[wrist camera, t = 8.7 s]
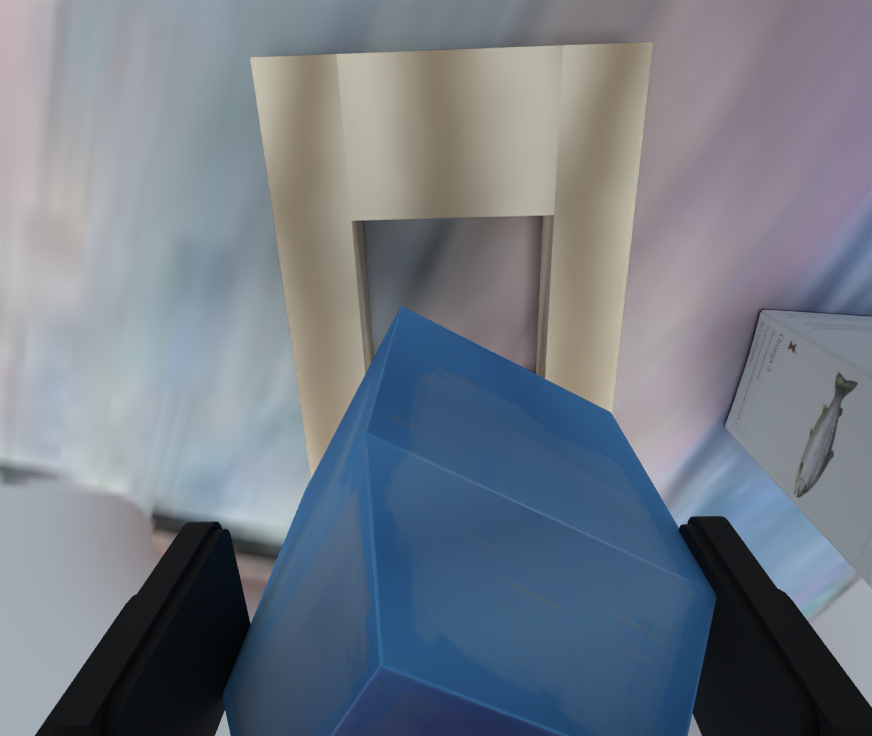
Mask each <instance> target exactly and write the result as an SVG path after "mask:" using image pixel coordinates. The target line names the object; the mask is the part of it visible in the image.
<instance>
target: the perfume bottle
mask: <svg viewBox="0 0 872 736" xmlns="http://www.w3.org/2000/svg"><path fill="white" fill-rule="evenodd" d="M715 602H716V595H715V592H714V591H713V589H712V587H711V585H710V584H709V582H708V580H707V579H706V577H705V575H704V573H703V572H702V570H701V568H700V567H699V565H698V563H697V561H696V560H695V558H694V556H693V555H692V553H691V551H690V549H689V548H688V546H687V544H686V543H685V541H684V539H683V537H682V536H681V534H680V532H679V528H678V526H677V524H676V523H675V521H674V519H673V517H672V516H671V514H670V512H669V511H668V509H667V507H666V505H665V504H664V502H663V500H662V499H661V497H660V495H659V494H658V492H657V490H656V488H655V487H654V485H653V483H652V482H651V480H650V478H649V476H648V475H647V473H646V471H645V470H644V468H643V466H642V465H641V463H640V461H639V459H638V458H637V456H636V454H635V453H634V451H633V449H632V447H631V446H630V444H629V442H628V441H627V439H626V437H625V436H624V434H623V432H622V430H621V429H620V427H619V425H618V424H617V422H616V420H615V418H614V417H613V415H612V413H611V412H610V411H608V410H606V409H604V408H602V407H600V406H598V405H596V404H594V403H592V402H590V401H588V400H586V399H584V398H582V397H580V396H578V395H576V394H574V393H572V392H570V391H568V390H566V389H564V388H562V387H560V386H558V385H556V384H554V383H552V382H550V381H548V380H546V379H544V378H542V377H541V376H539V375H537V374H535V373H533V372H531V371H529V370H527V369H525V368H523V367H521V366H519V365H517V364H515V363H513V362H511V361H509V360H507V359H505V358H503V357H501V356H499V355H497V354H495V353H493V352H491V351H489V350H487V349H485V348H483V347H481V346H479V345H477V344H475V343H473V342H471V341H469V340H468V339H466V338H464V337H462V336H460V335H458V334H456V333H454V332H452V331H450V330H448V329H446V328H444V327H442V326H440V325H438V324H436V323H434V322H432V321H430V320H428V319H426V318H424V317H422V316H420V315H418V314H416V313H414V312H412V311H410V310H408V309H406V308H404V307H402V306H400V308H399V310H398V312H397V314H396V316H395V318H394V320H393V322H392V324H391V326H390V328H389V330H388V332H387V333H386V335H385V337H384V339H383V341H382V343H381V345H380V347H379V349H378V351H377V353H376V355H375V357H374V359H373V360H372V362H371V364H370V366H369V368H368V370H367V372H366V374H365V376H364V378H363V380H362V382H361V384H360V386H359V388H358V389H357V391H356V393H355V395H354V397H353V399H352V401H351V403H350V405H349V407H348V409H347V411H346V413H345V415H344V416H343V418H342V420H341V422H340V424H339V426H338V428H337V430H336V432H335V434H334V436H333V438H332V440H331V442H330V443H329V445H328V447H327V449H326V451H325V453H324V455H323V457H322V459H321V461H320V463H319V465H318V467H317V469H316V471H315V472H314V474H313V476H312V478H311V480H310V482H309V484H308V486H307V488H306V490H305V492H304V495H303V497H302V500H301V502H300V505H299V507H298V509H297V512H296V514H295V517H294V519H293V522H292V524H291V527H290V529H289V531H288V534H287V536H286V539H285V541H284V544H283V546H282V549H281V551H280V553H279V556H278V558H277V561H276V563H275V566H274V568H273V571H272V573H271V576H270V578H269V580H268V583H267V585H266V588H265V590H264V593H263V595H262V598H261V600H260V603H259V605H258V607H257V610H256V613H255V615H254V617H253V620H252V622H251V625H250V628H249V630H248V633H247V635H246V638H245V640H244V642H243V645H242V647H241V650H240V652H239V655H238V657H237V660H236V662H235V665H234V667H233V669H232V672H231V674H230V677H229V679H228V682H227V684H226V687H225V689H224V692H223V701H224V706H225V711H226V715H227V720H228V725H229V729H230V734H231V736H688V731H689V726H690V722H691V717H692V712H693V708H694V703H695V698H696V693H697V688H698V684H699V679H700V674H701V669H702V665H703V660H704V655H705V650H706V645H707V641H708V636H709V631H710V626H711V622H712V617H713V612H714V607H715Z"/></svg>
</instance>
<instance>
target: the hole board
mask: <svg viewBox="0 0 872 736" xmlns="http://www.w3.org/2000/svg"><path fill="white" fill-rule="evenodd" d="M652 49H653V42H634V43H608V44H582V45H557V46H531V47H505V48H479V49H453V50H428V51H402V52H376V53H350V54H324V55H299V56H273V57H250V60H251V67H252V74H253V81H254V88H255V95H256V101H257V108H258V115H259V122H260V129H261V136H262V143H263V150H264V157H265V163H266V170H267V177H268V184H269V191H270V198H271V205H272V212H273V219H274V226H275V232H276V239H277V246H278V253H279V260H280V267H281V274H282V281H283V288H284V294H285V301H286V308H287V315H288V322H289V329H290V336H291V343H292V350H293V357H294V363H295V370H296V377H297V384H298V391H299V398H300V405H301V412H302V419H303V425H304V432H305V439H306V446H307V453H308V460H309V467H310V474H311V478H312V476H313V474H314V472H315V471H316V469H317V467H318V465H319V463H320V461H321V459H322V457H323V455H324V453H325V451H326V449H327V447H328V445H329V443H330V442H331V440H332V438H333V436H334V434H335V432H336V430H337V428H338V426H339V424H340V422H341V420H342V418H343V416H344V415H345V413H346V411H347V409H348V407H349V405H350V403H351V401H352V399H353V397H354V395H355V393H356V391H357V389H358V388H359V386H360V384H361V382H362V380H363V378H364V376H365V374H366V372H367V370H368V368H369V366H370V364H371V362H372V360H373V359H374V356H373V344H372V332H371V320H370V308H369V296H368V283H367V271H366V259H365V247H364V235H363V222H362V220H396V219H432V218H468V217H504V216H541V215H543V227H542V248H541V270H540V292H539V313H538V335H537V356H536V374H537V375H539V376H541V377H542V378H544V379H546V380H548V381H550V382H552V383H554V384H556V385H558V386H560V387H562V388H564V389H566V390H568V391H570V392H572V393H574V394H576V395H578V396H580V397H582V398H584V399H586V400H588V401H590V402H592V403H594V404H596V405H598V406H600V407H602V408H604V409H606V410H608V411H610V412H611V413H612V410H613V401H614V392H615V383H616V374H617V365H618V356H619V347H620V338H621V329H622V320H623V311H624V302H625V293H626V283H627V274H628V265H629V256H630V247H631V238H632V229H633V220H634V211H635V202H636V193H637V184H638V175H639V166H640V157H641V148H642V139H643V130H644V121H645V112H646V103H647V94H648V85H649V76H650V67H651V58H652Z"/></svg>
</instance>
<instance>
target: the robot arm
mask: <svg viewBox="0 0 872 736" xmlns="http://www.w3.org/2000/svg"><path fill="white" fill-rule="evenodd" d="M679 532H680V534H681V536H682V537H683V539H684V541H685V543H686V544H687V546H688V548H689V549H690V551H691V553H692V555H693V556H694V558H695V560H696V561H697V563H698V565H699V567H700V568H701V570H702V572H703V573H704V575H705V577H706V579H707V580H708V582H709V584H710V585H711V587H712V589H713V591H714V592H715V595H716V602H715V607H714V612H713V617H712V622H711V626H710V631H709V636H708V641H707V645H706V650H705V655H704V660H703V665H702V669H701V674H700V679H699V684H698V688H697V693H696V698H695V703H694V708H693V712H692V713H693V715H694V718H695V720H696V722H697V724H698V727H699V729H700V732H701V734H702V736H872V707H871V706H870V705H869V703H868V702H867V701H866V699H865V698H864V697H863V695H862V694H861V693H860V691H859V690H858V689H857V687H856V686H855V684H854V683H853V682H852V680H851V679H850V678H849V676H848V675H847V674H846V672H845V671H844V670H843V668H842V667H841V666H840V664H839V663H838V662H837V660H836V659H835V657H834V656H833V655H832V653H831V652H830V651H829V649H828V648H827V647H826V645H825V644H824V643H823V641H822V640H821V639H820V637H819V636H818V635H817V633H816V632H815V631H814V629H813V628H812V626H811V625H810V624H809V622H808V621H807V620H806V618H805V617H804V616H803V614H802V613H801V612H800V610H799V609H798V608H797V606H796V605H795V603H794V602H793V601H792V600H791V598H790V597H789V596H788V595H787V594H786V593H785V592H783V591H781V590H780V589H777V587H776V586H775V585H774V583H773V582H772V580H771V579H770V578H769V576H768V575H767V574H766V572H765V571H764V569H763V568H762V567H761V565H760V564H759V563H758V561H757V560H756V558H755V557H754V556H753V554H752V553H751V552H750V550H749V549H748V547H747V546H746V545H745V543H744V542H743V541H742V539H741V538H740V536H739V535H738V534H737V532H736V531H735V530H734V528H733V527H732V525H731V524H730V523H729V521H728V520H727V519H726V518H725V517H722V516H696V517H691V518H690V519H689V520H688V524H683V525H681V526H680V528H679ZM250 625H251V624H250V620H249V616H248V611H247V606H246V602H245V597H244V593H243V589H242V584H241V580H240V575H239V571H238V566H237V562H236V557H235V553H234V548H233V544H232V539H231V535H230V532H229V531H228V530H227V529H222V527H221V525H220V524H219V522H188V523H186V524H185V525H184V526H183V527H182V529H181V530H180V532H179V533H178V535H177V536H176V538H175V539H174V541H173V542H172V543H171V545H170V546H169V548H168V549H167V551H166V552H165V554H164V555H163V557H162V558H161V560H160V561H159V563H158V564H157V566H156V567H155V568H154V570H153V571H152V573H151V574H150V576H149V577H148V579H147V580H146V582H145V583H144V585H143V586H142V587H141V589H140V590H139V592H138V593H137V594H136V595H134V596H133V597H132V598H131V599H130V600H129V601H128V603H126V605H125V606H124V608H123V609H122V610H121V612H120V614H119V615H118V616H117V618H116V619H115V620H114V622H113V623H112V625H111V626H110V628H109V629H108V631H107V632H106V633H105V635H104V636H103V638H102V639H101V641H100V642H99V644H98V645H97V647H96V648H95V650H94V651H93V652H92V654H91V655H90V657H89V658H88V660H87V661H86V663H85V664H84V665H83V667H82V668H81V670H80V671H79V673H78V674H77V675H76V677H75V679H74V680H73V681H72V683H71V684H70V686H69V687H68V689H67V690H66V692H65V693H64V694H63V696H62V697H61V699H60V700H59V701H58V703H57V704H56V706H55V707H54V709H53V710H52V712H51V713H50V715H49V716H48V717H47V719H46V720H45V722H44V723H43V725H42V726H41V728H40V729H39V730H38V732H37V733H36V735H35V736H215V734H216V731H217V729H218V726H219V723H220V721H221V718H222V716H223V713H224V711H225V706H224V701H223V692H224V689H225V687H226V684H227V682H228V679H229V677H230V674H231V672H232V669H233V667H234V665H235V662H236V660H237V657H238V655H239V652H240V650H241V647H242V645H243V642H244V640H245V638H246V635H247V633H248V630H249V628H250Z"/></svg>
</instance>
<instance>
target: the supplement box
mask: <svg viewBox="0 0 872 736" xmlns="http://www.w3.org/2000/svg"><path fill="white" fill-rule="evenodd" d="M725 428H726V429H727V430H728V432H729V433H730V434H731V435H732V436H733V437H734V438H735V439H736V440H737V441H738V443H739V444H740V445H741V446H742V447H743V448H744V449H745V450H746V451H747V453H748V454H749V455H750V456H751V457H752V458H753V459H754V460H755V461H756V462H757V463H758V464H759V466H760V467H761V468H762V469H763V470H764V471H765V472H766V473H767V474H768V475H769V476H770V477H771V478H772V480H773V481H774V482H775V483H776V484H777V485H778V486H779V487H780V488H781V490H782V491H783V492H784V493H785V494H786V495H787V496H788V497H789V498H790V499H791V500H792V501H793V503H794V504H795V505H796V506H797V507H798V508H799V509H800V510H801V512H802V513H803V514H804V515H805V516H806V517H807V518H808V519H809V520H810V521H811V522H812V523H813V525H814V526H815V527H816V528H817V529H818V530H819V531H820V532H821V533H822V534H823V535H824V537H825V538H826V539H827V540H828V541H829V542H830V543H831V544H832V545H833V546H834V547H835V548H836V549H837V551H838V552H839V553H840V554H841V555H842V556H843V557H844V558H845V560H846V561H847V562H848V563H849V564H850V565H851V566H852V567H853V568H854V569H855V570H856V571H857V572H858V574H859V575H860V576H861V577H862V578H863V579H864V580H865V581H866V582H867V583H868V584H869V586H870V587H871V588H872V317H869V316H852V315H840V314H825V313H808V312H793V311H779V310H762V311H761V313H760V316H759V320H758V324H757V328H756V332H755V336H754V340H753V343H752V346H751V350H750V353H749V357H748V360H747V363H746V366H745V369H744V372H743V375H742V378H741V381H740V384H739V387H738V390H737V393H736V397H735V399H734V402H733V405H732V408H731V411H730V413H729V416H728V419H727V421H726V424H725Z"/></svg>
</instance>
